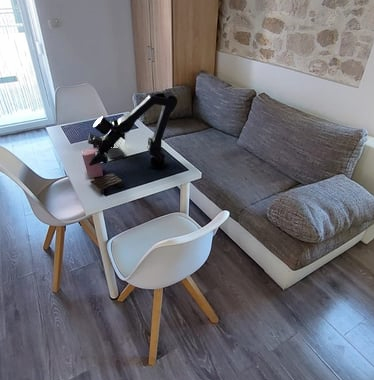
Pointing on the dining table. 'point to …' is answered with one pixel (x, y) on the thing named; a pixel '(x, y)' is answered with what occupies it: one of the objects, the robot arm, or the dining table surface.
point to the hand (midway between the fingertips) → (89, 161)
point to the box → (94, 169)
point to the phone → (115, 153)
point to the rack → (110, 178)
